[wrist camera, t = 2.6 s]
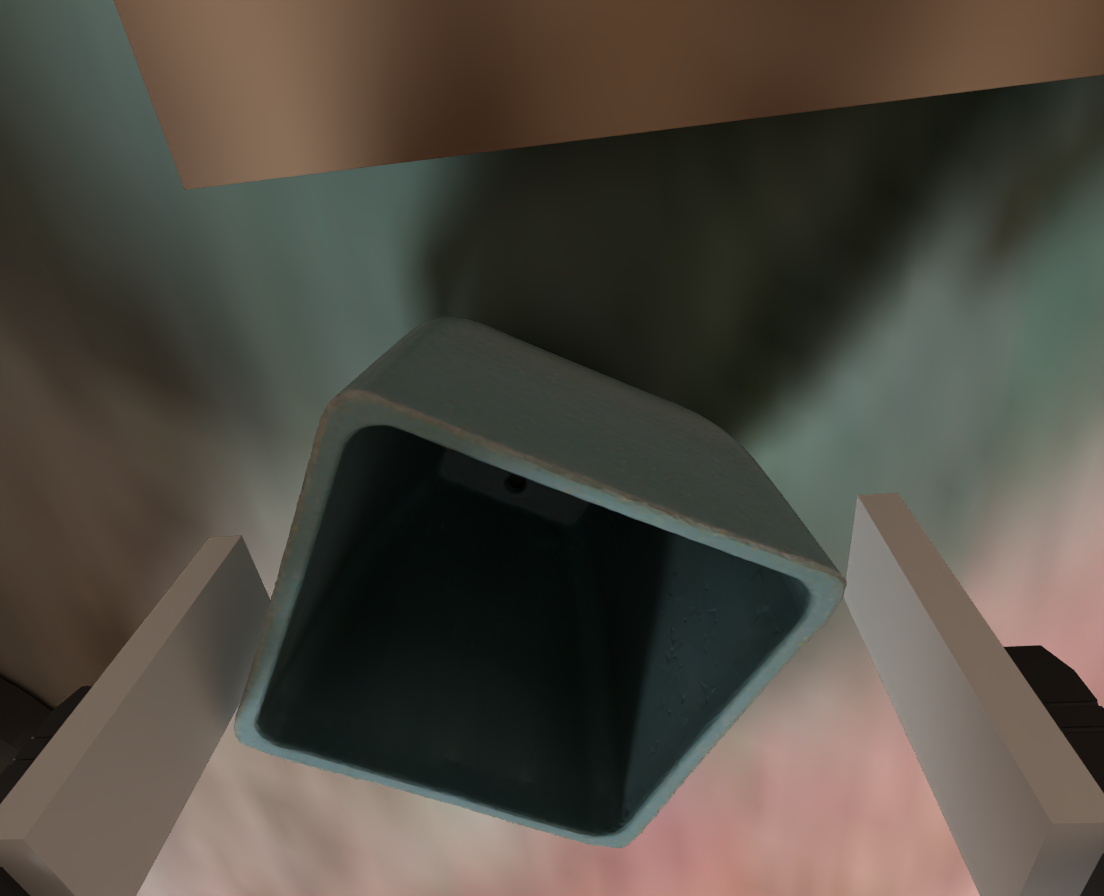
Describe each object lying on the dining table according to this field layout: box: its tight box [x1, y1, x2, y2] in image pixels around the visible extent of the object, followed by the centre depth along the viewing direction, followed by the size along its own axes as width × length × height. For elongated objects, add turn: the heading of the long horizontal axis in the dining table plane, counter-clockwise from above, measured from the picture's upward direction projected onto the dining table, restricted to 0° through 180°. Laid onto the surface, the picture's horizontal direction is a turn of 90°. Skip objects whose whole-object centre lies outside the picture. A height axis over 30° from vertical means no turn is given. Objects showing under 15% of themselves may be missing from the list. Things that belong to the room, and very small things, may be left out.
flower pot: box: [234, 317, 847, 848], centre depth 16 cm, size 9×9×9 cm
